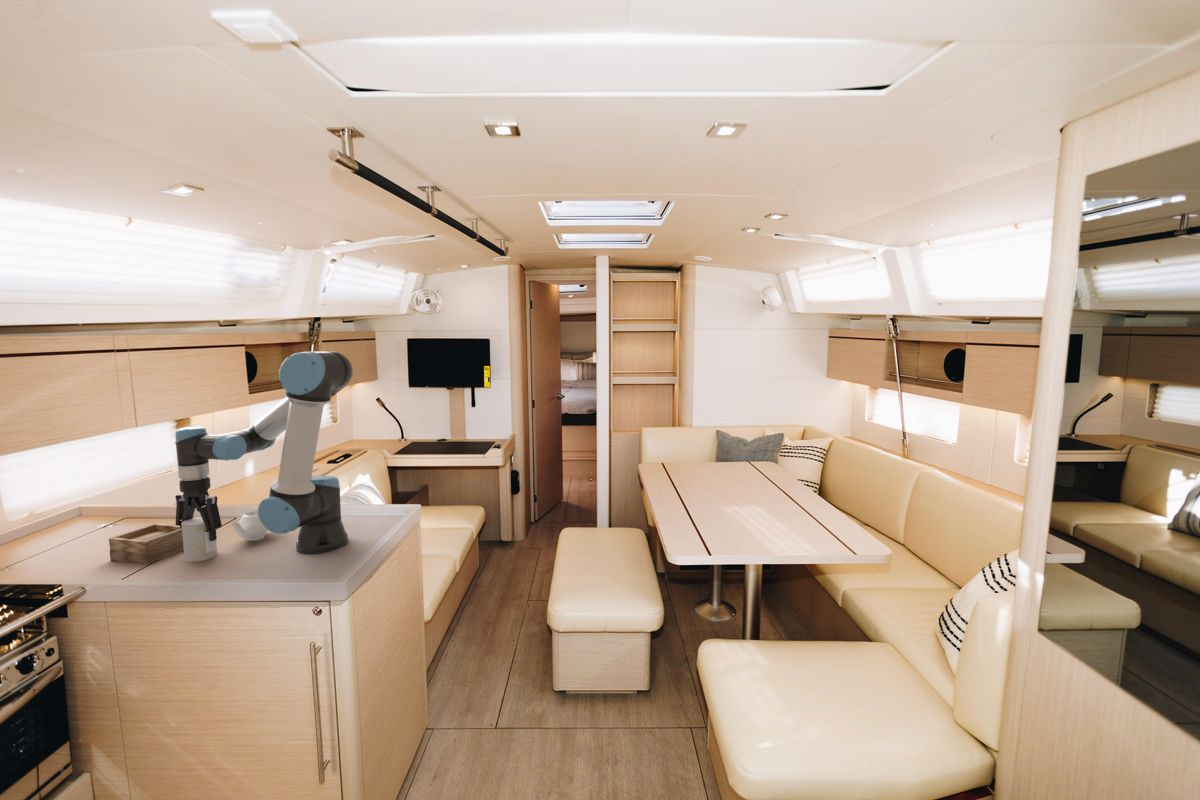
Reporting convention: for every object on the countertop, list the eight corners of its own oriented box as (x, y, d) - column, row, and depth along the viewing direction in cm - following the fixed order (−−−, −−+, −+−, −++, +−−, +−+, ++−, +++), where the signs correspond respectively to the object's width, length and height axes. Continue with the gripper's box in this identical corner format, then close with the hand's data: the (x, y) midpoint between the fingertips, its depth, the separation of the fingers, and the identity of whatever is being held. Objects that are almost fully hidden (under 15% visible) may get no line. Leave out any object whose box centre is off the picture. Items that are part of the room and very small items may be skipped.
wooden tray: (190, 537, 175) (189, 526, 174) (145, 553, 161) (144, 542, 161) (156, 533, 178) (155, 523, 177) (109, 549, 164) (108, 538, 164)
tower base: (191, 546, 176) (190, 536, 175) (149, 564, 162) (148, 552, 162) (155, 544, 178) (154, 534, 177) (110, 561, 164) (109, 550, 164)
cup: (200, 564, 162) (196, 525, 161) (177, 562, 164) (174, 523, 162) (223, 553, 170) (220, 517, 169) (202, 551, 171) (199, 515, 170)
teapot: (288, 529, 192) (286, 504, 191) (249, 551, 172) (247, 523, 171) (262, 529, 192) (260, 503, 191) (220, 550, 172) (218, 522, 171)
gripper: (232, 476, 165) (238, 548, 167) (180, 472, 170) (186, 541, 173) (209, 482, 158) (215, 557, 160) (155, 478, 163) (162, 550, 165)
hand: (200, 549), depth 166 cm, fingers closed on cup, 8 cm apart
